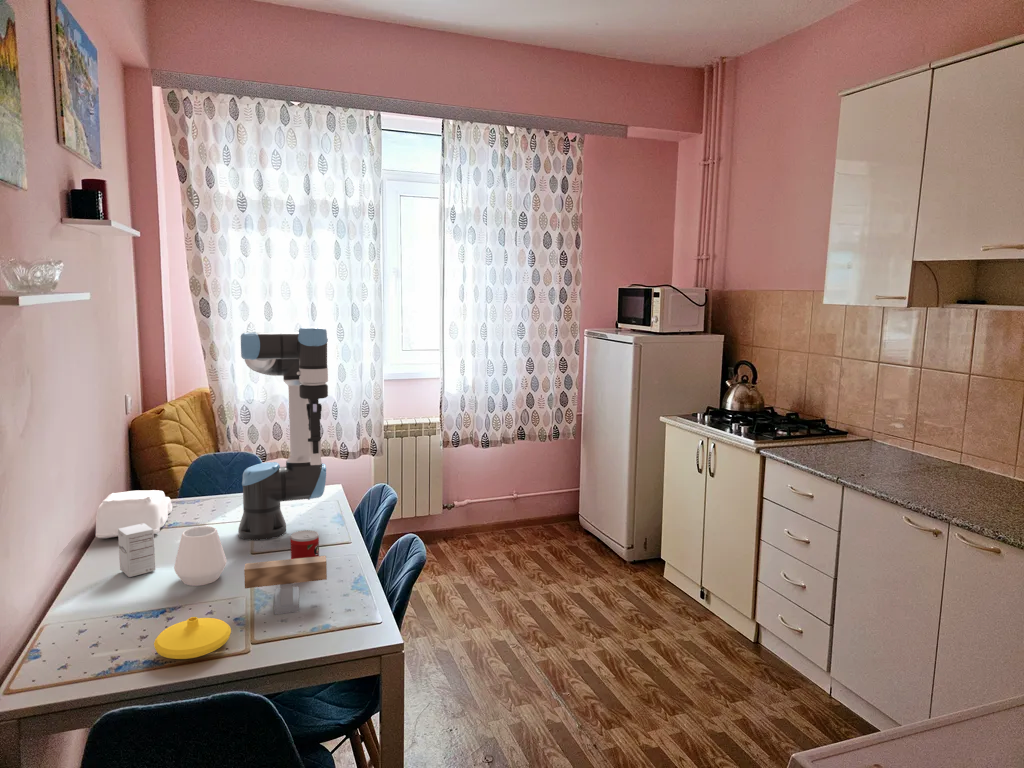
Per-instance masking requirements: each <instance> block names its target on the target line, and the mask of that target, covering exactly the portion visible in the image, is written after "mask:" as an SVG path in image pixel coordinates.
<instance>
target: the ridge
mask: <svg viewBox="0 0 1024 768" xmlns="http://www.w3.org/2000/svg"><path fill="white" fill-rule="evenodd" d="M279 586H280V588H275V589H274V606H273V607H274V608H273V609H274V610H273V611H274V614H273V615H279V614H282V615H283V614H289V613H296V612H300V587H299V586H297V585H296V586H294V583H291V584H282V585H279Z"/></svg>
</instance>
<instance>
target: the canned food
mask: <svg viewBox="0 0 1024 768" xmlns="http://www.w3.org/2000/svg"><path fill="white" fill-rule="evenodd" d="M319 535H320V534H319V533H318V531H315V530H298V531H296V532H293V533H291V534H290V559H297V558H307V557H317V556H320V539H319V537H320V536H319Z"/></svg>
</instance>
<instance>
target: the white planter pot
mask: <svg viewBox="0 0 1024 768" xmlns="http://www.w3.org/2000/svg"><path fill="white" fill-rule="evenodd" d="M227 562H228V561H227V557H226V553H225V550H224V548H223V545H222V542H221V539H220V536H219V533H218V530H217V528H216V527H213V526H206V525H203V526H202V525H201V526H195V527H191V528H188V529H186V530H184V531H182V533H181V537H180V541H179V545H178V549H177V554H176V556H175V562H174V567H173V569H174V572H175V574H176V575H177V577H178V578H179V579H180V580H181V581H182V583H184V585H187V586H193V587H195V586H196V587H199V586H204V585H209V584H211V583H212V584H213V583H214V582H216V581H217V580H218V579H219V578H220V576H221V574H222V573H223V571H224V570H225V568H226V565H227Z"/></svg>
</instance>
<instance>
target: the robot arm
mask: <svg viewBox="0 0 1024 768" xmlns="http://www.w3.org/2000/svg"><path fill="white" fill-rule="evenodd" d="M328 339H329V338H328V331H327V329H326V328H325V327H322V326H321V327H319V326H304V327H300V328H299V329H298V332H255V331H252V332H243V333H241V334H240V357H241V359H243V360H244V362H245V364H246V366H247V367H248V368H249V369H250V370H252V371H253V372H256V373H259V374H262V375H266V376H275V377H276V376H281V377H283V378H282V380H283V382H284V383H285V384H286V385H287V386H288V413H289V415H288V417H289V418H288V419H289V420H288V421H289V446H290V447H289V449H290V453H289V454H290V455H289V457H288V458H287V459H286V460H285V466H281V465H280V463H278V462H276V461H273V462H271V461H268V462H261V463H257V464H254V465H252V466H249V467H246V469H244V471H243V473H242V482H241V485H242V508H243V510H242V511H243V513H242V516H241V519H240V521H239V525H238V529H237V530H238V537H239V538H240V539H242V540H246V541H267V540H272V539H275V538H278V537H281V536H282V534H283V535H285V534H286V532H287V523H286V520H285V517H284V515H283V512H282V510H281V502H289V501H299V500H300V501H301V500H303V501H304V500H308V501H309V500H312V499H319V498H322V496H323V495H324V492H325V488H326V483H327V465H326V464H325V463H322V447H321V445H322V444H321V443H322V441H321V439H322V436H321V419H322V410H323V407H322V403H321V402H319V400H320V399H327V397H328V396H329V386H328V384H327V383H328V381H329V369H328ZM280 535H281V536H280Z"/></svg>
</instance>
